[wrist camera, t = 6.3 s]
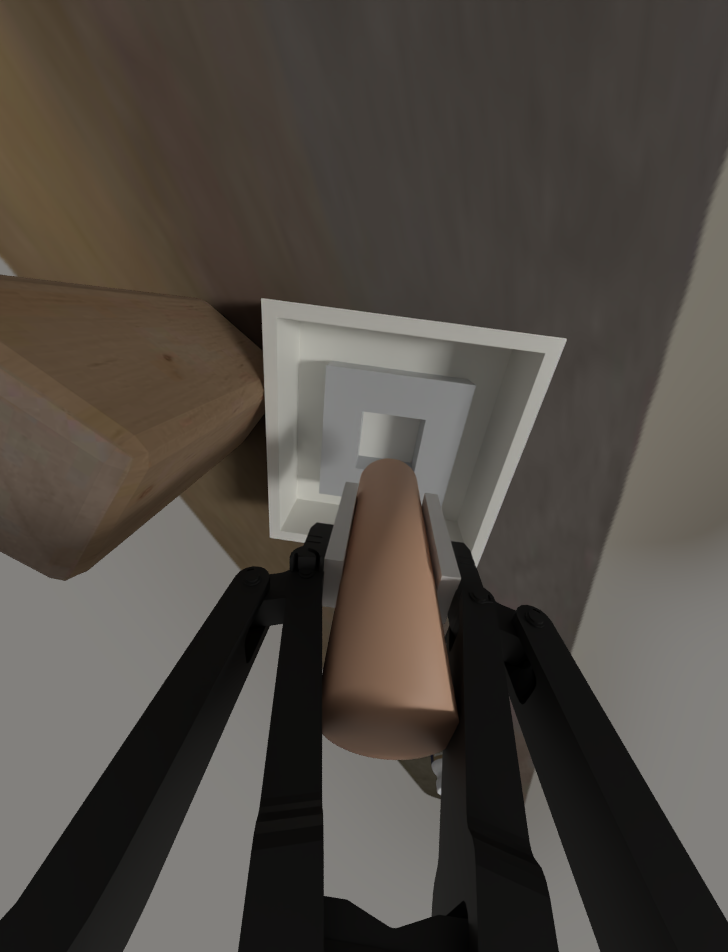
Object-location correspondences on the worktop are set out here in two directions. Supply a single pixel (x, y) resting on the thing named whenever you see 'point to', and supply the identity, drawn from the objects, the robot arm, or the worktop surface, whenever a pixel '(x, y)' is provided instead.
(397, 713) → the peg
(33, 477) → the wooden block
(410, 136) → the worktop surface
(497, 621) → the robot arm
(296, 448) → the tub
